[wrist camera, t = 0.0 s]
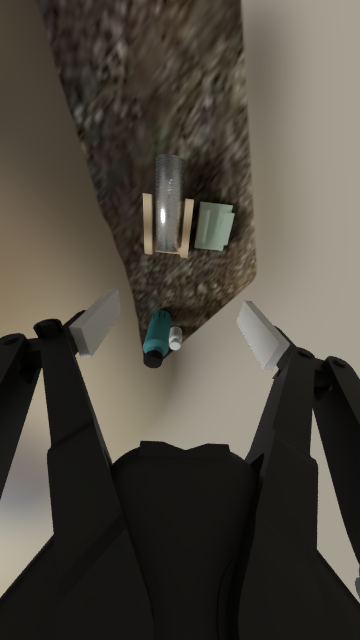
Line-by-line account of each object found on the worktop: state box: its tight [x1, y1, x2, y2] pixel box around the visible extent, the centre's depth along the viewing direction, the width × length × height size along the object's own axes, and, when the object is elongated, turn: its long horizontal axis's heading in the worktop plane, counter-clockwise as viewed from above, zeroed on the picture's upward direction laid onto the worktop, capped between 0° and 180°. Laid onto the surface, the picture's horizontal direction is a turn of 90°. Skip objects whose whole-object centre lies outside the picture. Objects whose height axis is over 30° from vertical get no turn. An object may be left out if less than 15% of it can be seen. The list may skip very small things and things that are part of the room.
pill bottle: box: [169, 327, 182, 350], centre depth 50 cm, size 4×4×8 cm
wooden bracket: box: [143, 194, 194, 258], centre depth 33 cm, size 10×9×8 cm
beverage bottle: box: [143, 310, 171, 368], centre depth 41 cm, size 6×7×20 cm
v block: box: [194, 202, 235, 251], centre depth 34 cm, size 9×7×4 cm
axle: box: [155, 154, 185, 252], centre depth 29 cm, size 14×5×5 cm, turn 175°
